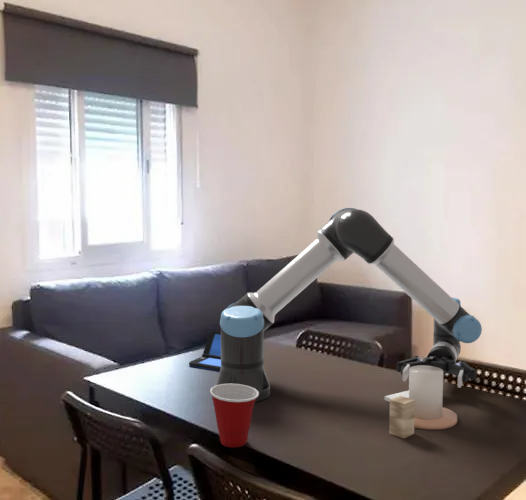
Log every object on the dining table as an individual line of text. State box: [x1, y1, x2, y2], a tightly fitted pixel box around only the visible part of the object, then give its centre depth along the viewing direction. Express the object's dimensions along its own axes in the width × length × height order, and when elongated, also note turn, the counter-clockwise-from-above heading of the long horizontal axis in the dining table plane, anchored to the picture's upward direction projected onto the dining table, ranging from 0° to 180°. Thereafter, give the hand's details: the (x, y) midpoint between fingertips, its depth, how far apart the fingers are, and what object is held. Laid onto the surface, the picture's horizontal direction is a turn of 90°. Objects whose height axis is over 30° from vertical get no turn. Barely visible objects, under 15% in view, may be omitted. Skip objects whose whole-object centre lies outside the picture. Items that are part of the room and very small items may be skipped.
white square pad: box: [384, 389, 409, 403], centre depth 164 cm, size 10×10×1 cm
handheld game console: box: [188, 330, 221, 372], centre depth 200 cm, size 16×13×9 cm
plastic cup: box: [209, 384, 259, 448], centre depth 137 cm, size 11×11×12 cm
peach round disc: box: [414, 406, 458, 431], centre depth 152 cm, size 15×15×1 cm
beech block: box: [388, 396, 415, 439], centre depth 142 cm, size 4×4×8 cm
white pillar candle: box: [408, 365, 444, 420], centre depth 152 cm, size 8×8×11 cm
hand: (431, 379), depth 157 cm, fingers open, 13 cm apart
